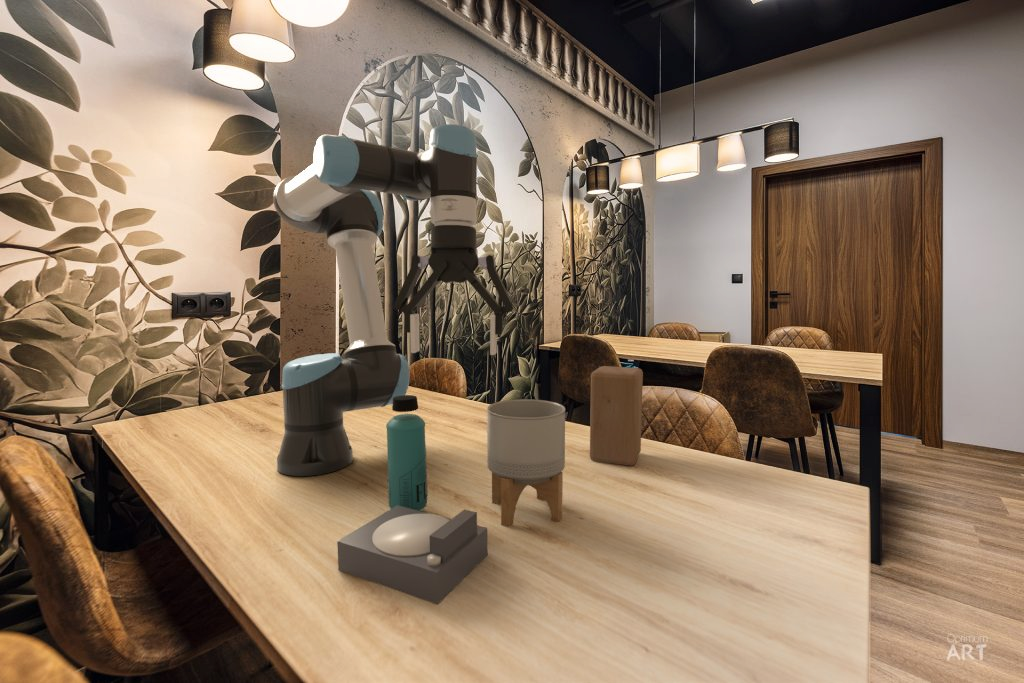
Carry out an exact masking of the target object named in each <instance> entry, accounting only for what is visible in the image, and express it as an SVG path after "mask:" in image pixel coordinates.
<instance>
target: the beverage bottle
mask: <svg viewBox="0 0 1024 683" xmlns="http://www.w3.org/2000/svg"><path fill="white" fill-rule="evenodd" d="M391 408H392V411H393V412H396V413H397V412H398V413H402V414H397V415H395V416H393V417H392V418H391V419H389V420H388V422H387V423H386V424H385V426H386V444H387V462H386V463H387V489H388V490H387V495H388V496H387V504H388V506H389V508H390V509H392V508H394V507H395V506H397V505H398V506H402V507H406V508H410V509H414V510H418V511H422V510H424V509H425V508H426V506H427V504H428V495H429V490H428V489H429V488H428V487H429V486H428V478H427V477H428V476H427V469H428V467H427V454H428V452H427V446H426V445H427V443H426V421H425V420H424V419H423V418H422V417H421V416H419V415H418V414H413V413H408V412H414V411H416V410H417V411H418V409H419V402H418V397H417V396H416V395H413V394H412V395H411V394H406V395H401V396H396V397H394V398H393V404H392V407H391ZM403 413H404V414H403ZM390 509H389V510H390Z"/></svg>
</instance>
